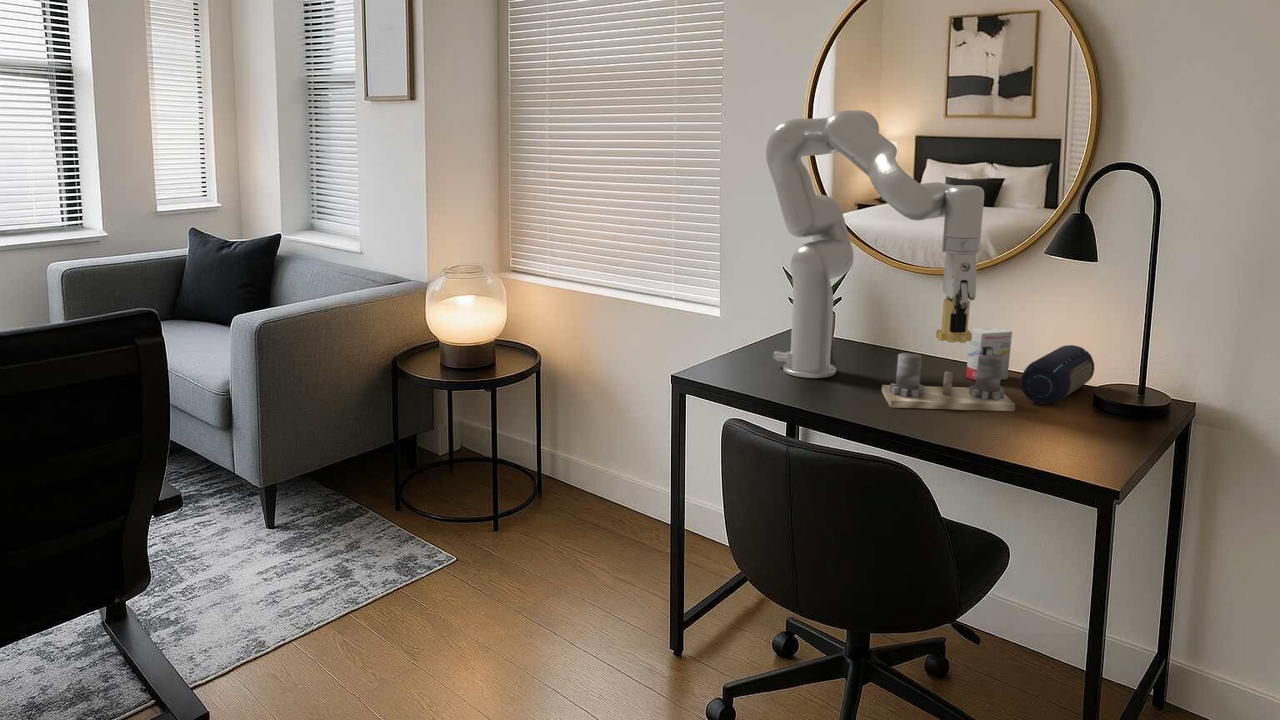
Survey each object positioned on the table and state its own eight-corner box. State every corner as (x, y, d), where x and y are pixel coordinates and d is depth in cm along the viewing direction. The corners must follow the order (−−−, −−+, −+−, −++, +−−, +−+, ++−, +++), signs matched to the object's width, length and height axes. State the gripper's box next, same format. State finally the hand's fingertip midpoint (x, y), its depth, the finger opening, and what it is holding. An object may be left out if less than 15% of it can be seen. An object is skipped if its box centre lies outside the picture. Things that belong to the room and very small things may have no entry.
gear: (940, 342, 207) (943, 303, 205) (933, 334, 214) (936, 296, 211) (974, 343, 206) (978, 303, 204) (966, 335, 213) (969, 297, 211)
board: (890, 407, 209) (894, 362, 206) (881, 391, 220) (884, 348, 218) (1014, 411, 207) (1019, 366, 204) (998, 394, 219) (1003, 351, 216)
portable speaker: (1060, 412, 207) (1065, 367, 204) (1013, 403, 213) (1018, 359, 211) (1096, 387, 225) (1102, 345, 223) (1052, 379, 232) (1057, 338, 229)
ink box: (977, 382, 228) (982, 333, 225) (964, 376, 233) (969, 328, 230) (1008, 379, 231) (1014, 331, 228) (995, 374, 235) (1000, 326, 232)
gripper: (990, 250, 196) (982, 338, 201) (969, 239, 213) (962, 321, 217) (952, 250, 197) (945, 337, 201) (934, 239, 213) (928, 320, 218)
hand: (954, 328), depth 209 cm, fingers closed on gear, 5 cm apart
